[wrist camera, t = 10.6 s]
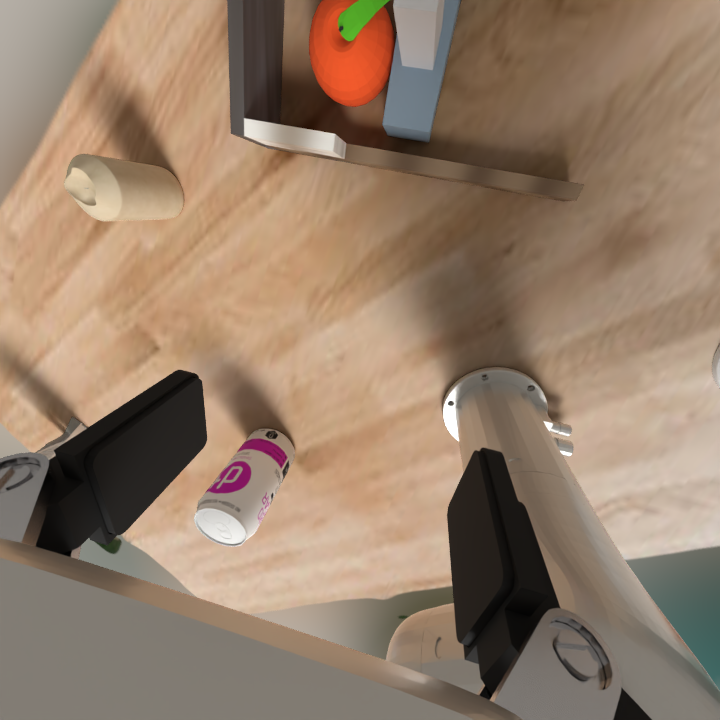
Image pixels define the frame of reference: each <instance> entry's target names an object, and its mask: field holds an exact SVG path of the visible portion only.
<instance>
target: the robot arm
mask: <svg viewBox="0 0 720 720" xmlns="http://www.w3.org/2000/svg"><path fill="white" fill-rule="evenodd" d="M484 374H486V375H484ZM483 375H484V376H483ZM547 413H548V405H547V399H546V397H545V395H544V392H543V391H542V389H541V388H540V386H539V385H538V384H537V383H536V382H535V381H534V380H533V379H532V378H530V377H529V376H527V375H526V374H524V373H522V372H519V371H517V370H514V369H509V368H502V367H491V368H483V369H480V370H476V371H473V372H471V373H469V374H466V375H465V376H463V377H462V378H460V379H459V380H457V381H456V382H455V383H454V384H453V385H452V386H451V388H450V389H449V391H448V392H447V394H446V396H445V398H444V402H443V418H444V423H445V425H446V427H447V429H448V431H449V432H450V433H451V435H452V436H453V437H454V438H455V439H456V440H458V441H459V446H460V453H461V459H462V466H463V476H462V478H461V480H460V482H459V484H458V486H457V489H456V491H455V493H454V495H453V497H452V499H451V502H450V504H449V507H448V513H447V519H448V532H449V545H450V558H451V572H452V585H453V598H454V603H452V604H447V605H443V606H439V607H435V608H430V609H427V610H423V611H420V612H417V613H415V614H413V615H411V616H410V617H408V618H407V619H405V620H404V621H403V622H402V623H401V624H400V625H399V626H398V628H397V629H396V631H395V633H394V635H393V637H392V639H391V641H390V644H389V649H388V653H387V657H386V660H383V659H380V658H377V657H374V656H371V655H368V654H365V653H362V652H359V651H356V650H353V649H350V648H347V647H344V646H341V645H338V644H335V643H332V642H329V641H326V640H323V639H320V638H318V637H315V636H311V635H309V634H305V633H302V632H299V631H297V630H294V629H290V628H288V627H284V626H282V625H278V624H276V623H272V622H269V621H266V620H263V619H260V618H257V617H254V616H251V615H248V614H245V613H242V612H239V611H236V610H233V609H230V608H227V607H224V606H221V605H218V604H215V603H212V602H209V601H206V600H202V599H199V598H196V597H193V596H190V595H187V594H184V593H181V592H178V591H175V590H172V589H169V588H166V587H163V586H159V585H156V584H153V583H150V582H147V581H144V580H141V579H137V578H134V577H132V576H128V575H125V574H122V573H119V572H116V571H113V570H109V569H106V568H103V567H100V566H97V565H94V564H91V563H88V562H85V561H82V560H78V559H79V554H80V549H81V545H82V544H83V543H84V542H85V541H86V540H87V539H88V538H90V540H92V541H96V542H99V543H102V544H105V545H108V544H109V543H110V542H111V541H112V540H113V539H114V538H115V537H116V536H117V535H121V534H123V533H124V532H125V531H126V530H127V529H128V528H129V527H130V526H131V525H132V524H133V523H134V522H135V521H136V520H137V519H138V518H139V517H140V515H141V514H142V513H143V512H144V511H145V510H146V509H147V508H148V507H149V506H150V505H151V504H152V503H153V501H154V500H155V499H156V498H157V497H158V496H159V495H160V494H161V493H162V492H163V491H164V490H165V489H166V487H167V486H168V485H169V484H170V483H171V482H172V481H173V480H174V479H175V478H176V477H177V476H178V475H179V474H180V472H181V471H182V470H183V469H184V468H185V467H186V466H187V465H188V464H189V463H190V462H191V461H192V460H193V458H194V457H195V456H196V455H197V454H198V453H199V452H200V451H201V450H202V449H203V447H204V446H205V444H206V441H207V431H206V420H205V408H204V397H203V386H202V381H201V380H200V379H199V377H198V375H197V374H195V373H191V372H187V371H183V370H177V371H175V372H173V373H172V374H170V375H169V376H167V377H166V378H164V379H163V380H161V381H160V382H158V383H156V384H155V385H153V386H152V387H150V388H149V389H147V390H146V391H144V392H143V393H141V394H139V395H138V396H136V397H135V398H133V399H132V400H130V401H129V402H127V403H126V404H124V405H122V406H121V407H119V408H118V409H116V410H115V411H113V412H112V413H110V414H109V415H107V416H105V417H104V418H102V419H101V420H99V421H98V422H96V423H95V424H93V425H92V426H90V427H88V428H87V429H85V430H84V431H82V432H81V433H79V434H78V435H76V436H75V437H73V438H71V439H70V440H68V441H67V442H65V443H64V444H62V445H61V446H59V447H58V448H56V449H54V452H55V454H56V456H54V457H53V458H51V459H50V460H48V458H47V457H46V456H45V455H42V454H40V453H31V452H29V453H19V454H15V455H11V456H7V457H3V458H1V459H0V720H720V691H719V689H718V688H717V686H716V685H715V683H714V682H713V681H712V679H711V678H710V676H709V675H708V673H707V672H706V670H705V669H704V668H703V666H702V665H701V664H700V662H699V661H698V660H697V658H696V657H695V656H694V654H693V653H692V652H691V650H690V649H689V648H688V646H687V645H686V644H685V642H684V641H683V640H682V638H681V637H680V636H679V634H678V633H677V632H676V630H675V629H674V628H673V626H672V625H671V624H670V622H669V621H668V620H667V618H666V617H665V616H664V615H663V613H662V612H661V610H660V609H659V608H658V606H657V605H656V604H655V602H654V601H653V600H652V598H651V597H650V596H649V594H648V593H647V591H646V590H645V589H644V587H643V586H642V584H641V583H640V581H639V580H638V579H637V577H636V576H635V574H634V573H633V571H632V570H631V569H630V567H629V566H628V564H627V563H626V561H625V560H624V558H623V557H622V555H621V554H620V552H619V550H618V549H617V547H616V546H615V544H614V542H613V541H612V539H611V538H610V536H609V534H608V533H607V531H606V529H605V528H604V526H603V524H602V523H601V521H600V519H599V518H598V516H597V514H596V512H595V511H594V509H593V507H592V505H591V504H590V502H589V500H588V498H587V497H586V495H585V494H584V492H583V490H582V489H581V487H580V485H579V483H578V482H577V480H576V478H575V476H574V474H573V473H572V471H571V469H570V467H569V466H568V464H567V462H566V460H565V459H564V457H563V456H567V457H568V456H570V455H571V454H572V452H573V444H572V442H571V441H568V440H563V439H559V438H553V437H552V435H551V434H550V432H554V433H556V434H559V435H564V436H569V435H570V434H571V432H572V428H571V426H570V425H567V424H563V423H556V422H552V420H551V419H550V418H549V417H548V415H547Z"/></svg>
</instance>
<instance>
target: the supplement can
mask: <svg viewBox="0 0 720 720" xmlns="http://www.w3.org/2000/svg"><path fill="white" fill-rule="evenodd" d="M294 457H295V451H294V447H293V445H292V443H291V442H290V440H289V439H288V438H287V437H286V436H285V435H284V434H282V433H281V432H279V431H277V430H273V429H258V430H256V431H253V432H252V434H251V435H250V436H249V437H248V439H247V440H246V441H245V442H244V444H243V445H242V446H241V448H240V449H239V450H238V451H237V453H236V454H235V455H234V457H233V458H232V459H231V460H230V462H229V463H228V464H227V466H226V467H225V468H224V469H223V471H222V472H221V473H220V475H219V476H218V477H217V478H216V480H215V481H214V482H213V484H212V485H211V486H210V488H209V489H208V490H207V491H206V493H205V494H204V495H203V497H202V498H201V499H200V500H199V502H198V507H197V512H196V514H195V518H194V521H195V524H196V527H197V528H198V529H199V530H200V532H201V533H202V534H203V535H205V536H206V537H207V538H208V539H210V540H212V541H214V542H216V543H218V544H221V545H224V546H232V547H235V546H239V545H242V544H243V543H244V542H245V541H246V540H247V539H248V538H249V537H251V536H252V535H253V534H254V533H256V531H257V529H258V527H259V525H260V523H261V521H262V519H263V517H264V516H265V514H266V512H267V510H268V508H269V506H270V504H271V502H272V500H273V498H274V496H275V495H276V493H277V491H278V489H279V487H280V485H281V483H282V481H283V479H284V477H285V475H286V474H287V472H288V470H289V468H290V466H291V464H292V462H293V460H294Z"/></svg>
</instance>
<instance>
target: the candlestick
mask: <svg viewBox="0 0 720 720" xmlns="http://www.w3.org/2000/svg"><path fill="white" fill-rule="evenodd" d="M712 374H713V378H714V380H715V382H716V384H717V386H718V387H719V388H720V345H719V347H718V348H717V350H716V353H715V355H714V358H713V363H712Z"/></svg>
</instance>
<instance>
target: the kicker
mask: <svg viewBox="0 0 720 720" xmlns="http://www.w3.org/2000/svg"><path fill="white" fill-rule="evenodd" d="M460 3H461V0H394V4H393V9H394V16H395V22H396V29H397V37H396V43H395V49H394V56H393V62H392V68H391V74H390V80H389V87H388V93H387V99H386V105H385V111H384V117H383V124H382V125H383V127H384V129H385V131H386V133H387V135H388V136H392V137H398V138H404V139H410V140H415V141H421V142H427V143H429V141H430V137H431V132H432V128H433V123H434V119H435V114H436V110H437V105H438V101H439V96H440V92H441V88H442V83H443V79H444V74H445V70H446V65H447V61H448V56H449V52H450V47H451V43H452V39H453V34H454V30H455V25H456V21H457V16H458V12H459V7H460Z"/></svg>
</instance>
